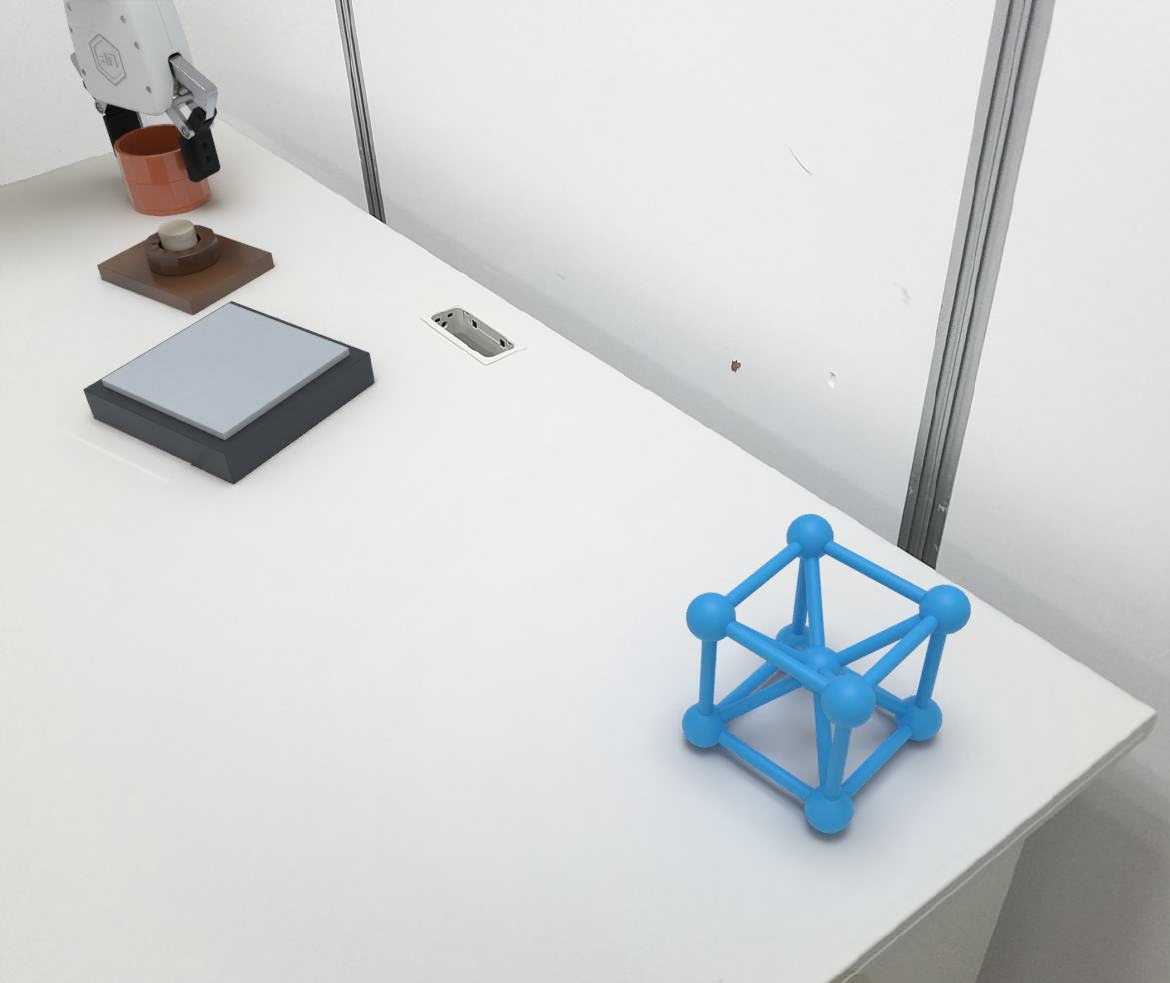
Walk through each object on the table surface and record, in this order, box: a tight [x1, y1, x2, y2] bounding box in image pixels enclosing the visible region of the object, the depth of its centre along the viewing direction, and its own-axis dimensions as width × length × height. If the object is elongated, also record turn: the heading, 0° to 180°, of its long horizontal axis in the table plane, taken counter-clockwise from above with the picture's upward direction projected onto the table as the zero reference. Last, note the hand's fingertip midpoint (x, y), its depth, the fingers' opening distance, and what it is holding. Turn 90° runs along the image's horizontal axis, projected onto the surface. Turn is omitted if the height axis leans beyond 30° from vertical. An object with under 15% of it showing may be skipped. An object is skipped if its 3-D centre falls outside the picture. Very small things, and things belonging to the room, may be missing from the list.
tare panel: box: [96, 224, 275, 316], centre depth 99 cm, size 11×9×3 cm
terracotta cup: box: [114, 123, 213, 217], centre depth 108 cm, size 7×7×6 cm
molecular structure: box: [681, 513, 972, 834], centre depth 58 cm, size 10×10×10 cm
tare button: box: [157, 219, 198, 251], centre depth 97 cm, size 3×3×2 cm
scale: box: [82, 300, 376, 484], centre depth 85 cm, size 15×14×3 cm
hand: (168, 164), depth 108 cm, fingers open, 9 cm apart
